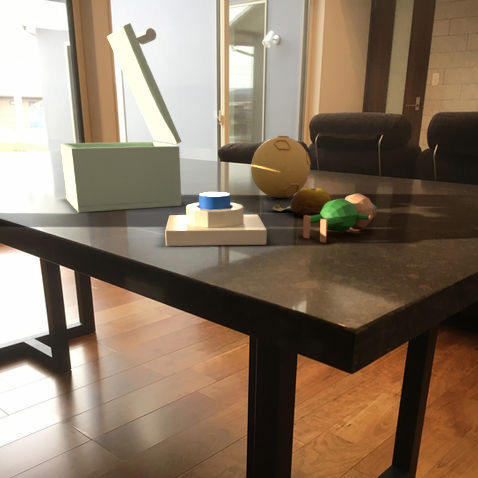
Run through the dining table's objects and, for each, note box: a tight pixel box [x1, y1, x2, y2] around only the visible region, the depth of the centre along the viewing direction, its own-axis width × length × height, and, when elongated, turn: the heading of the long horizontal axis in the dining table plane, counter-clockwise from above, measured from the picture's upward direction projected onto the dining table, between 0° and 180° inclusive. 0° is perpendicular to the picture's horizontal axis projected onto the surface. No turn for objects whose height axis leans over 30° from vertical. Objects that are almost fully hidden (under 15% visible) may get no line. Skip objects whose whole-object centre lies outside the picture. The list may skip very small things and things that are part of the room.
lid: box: [106, 22, 182, 145], centre depth 79 cm, size 16×13×5 cm
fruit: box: [271, 187, 332, 218], centre depth 74 cm, size 8×8×4 cm
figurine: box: [302, 193, 378, 244], centre depth 62 cm, size 4×7×12 cm
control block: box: [164, 202, 268, 247], centre depth 60 cm, size 11×9×4 cm
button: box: [198, 191, 231, 210], centre depth 59 cm, size 4×4×2 cm
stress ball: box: [250, 135, 312, 199], centre depth 87 cm, size 10×10×10 cm
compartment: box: [60, 141, 182, 213], centre depth 81 cm, size 16×13×9 cm
